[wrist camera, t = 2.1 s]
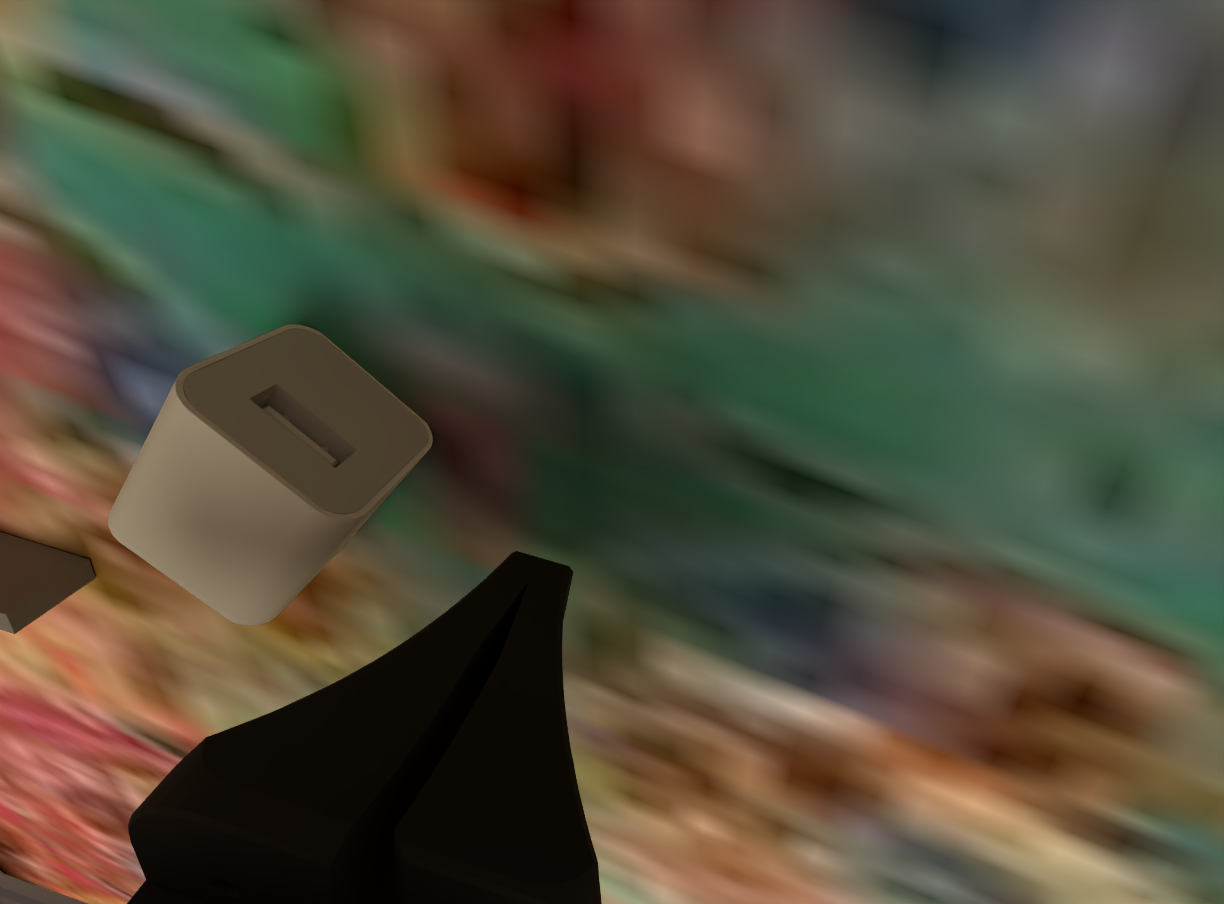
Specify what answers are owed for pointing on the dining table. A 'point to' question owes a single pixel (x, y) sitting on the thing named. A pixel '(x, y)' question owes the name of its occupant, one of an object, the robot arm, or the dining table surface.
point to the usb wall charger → (264, 470)
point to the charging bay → (36, 580)
